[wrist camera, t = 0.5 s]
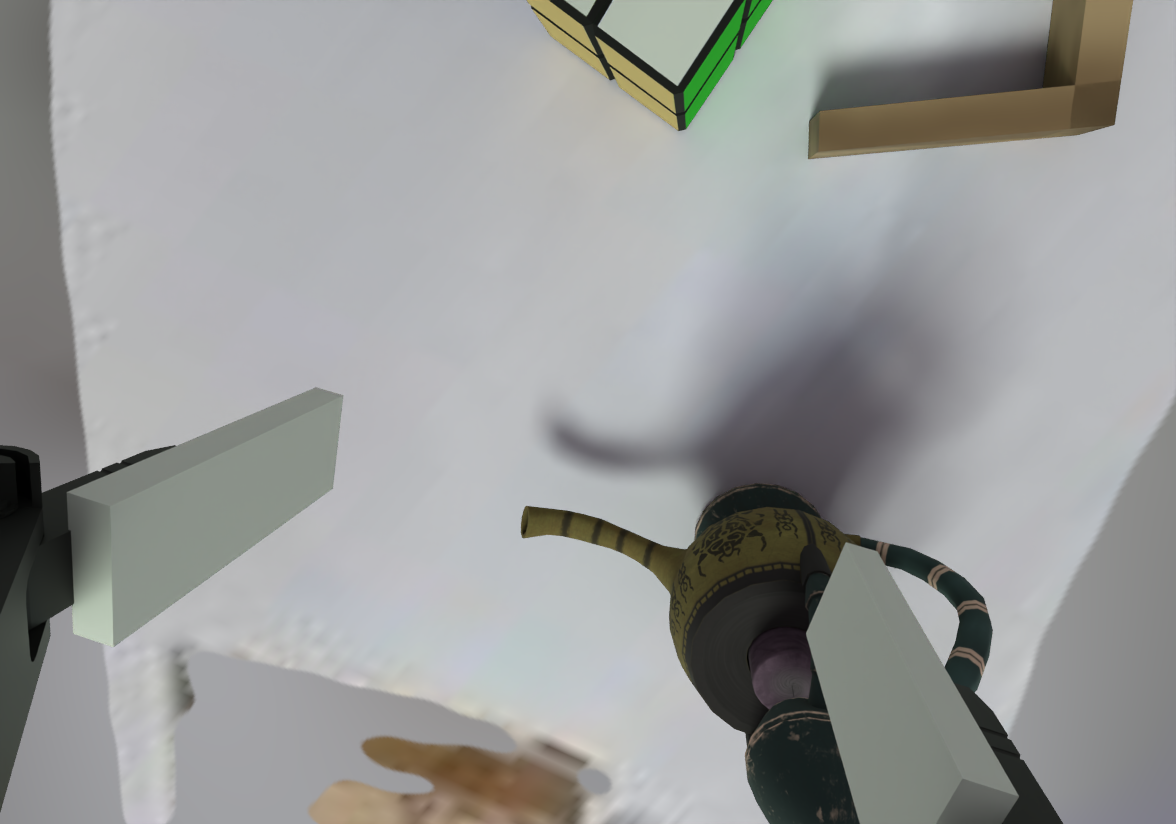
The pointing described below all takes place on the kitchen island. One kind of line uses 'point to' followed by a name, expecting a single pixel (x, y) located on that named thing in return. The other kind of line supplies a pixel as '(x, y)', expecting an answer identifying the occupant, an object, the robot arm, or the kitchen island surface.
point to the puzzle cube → (655, 45)
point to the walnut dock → (1002, 96)
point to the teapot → (771, 631)
